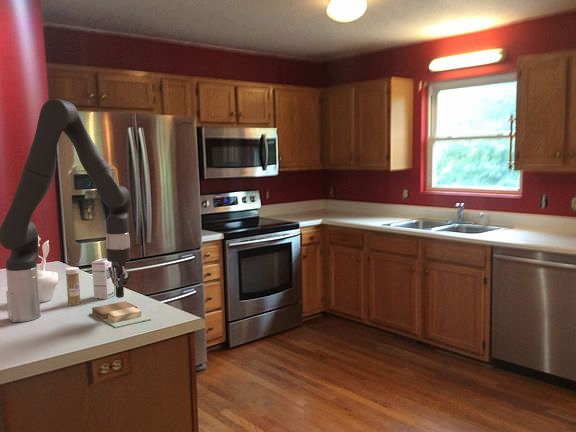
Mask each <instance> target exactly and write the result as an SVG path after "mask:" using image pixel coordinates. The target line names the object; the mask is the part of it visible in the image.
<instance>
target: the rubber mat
mask: <svg viewBox="0 0 576 432" xmlns="http://www.w3.org/2000/svg"><path fill="white" fill-rule="evenodd" d="M151 320H152V318H151V317H149V316H146V315H145V314H144V313H141V317H137V318H133V319H128V320H124V321H119V322H114V321H112V320H110V319H109V318H107V319H104V320H103V321H104V322H105V321H106V324H109V325H110V326H112V327H113V328H115V329H117V328H121V327H126V326H131V325H135V324H139V323H143V322H149V321H151Z"/></svg>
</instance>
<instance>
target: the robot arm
mask: <svg viewBox="0 0 576 432" xmlns="http://www.w3.org/2000/svg"><path fill="white" fill-rule="evenodd" d="M62 133H64V134H65V136H67V137H68V139H69V140H70V142H71V143H72V145H73V147H74V149H75V152H76V154H77V158H78V160H79V162H80V164H81V166H82V168H83V169H84V171H85V172H86V174H87V175H88V178H90V180H91V181H92V183H94V186H95V188H96V191H97V193H98V194H99V195H98V196H99V197H100V199H101V200H102V202H103V204H105V205H106V206H107V207H108V208H109V210H108V211H109V212H108V216H107V217H106V221H105V223H106V224H105V225H106V228H105V229H106V239H105V245H106V246H105V247H106V248H105V249H106V258H107V261H109V262H112V263H111V265H112V266H111V267H109V273H110V276H111V279H112V283H114V285H115V297H116V298H117V299H121V298H124V297H125V294H124V293H125V292H124V287H125V286H127V285H128V283H129V280H130V276H131V273H130V272H127V271H128V267H127V263H126V262H128V261H130V260H131V238H130V226H129V216H130V215H129V214H130V209H131V193H130V192H129V190H128V188H127V187H125V186H123V185H119V184H118V183H117V182H116V180H115V178H114V172H113V170H112V168H111V167H110V165H109V164H108V162H107V161H106V159H105V158H104V157H103V155H102V154H101V152H100V150H99V149H98V148H97V145H96V144H95V142H94V140H93V139H92V137H91V136H90V134H89V131H88V129H87V128H86V127H85V124H84V122H83V120H82V118H81V116H80V114H79V111H78V110H77V107H76V106H75V105H74V104H73V103H72V102H70V101H67V100H65V99H61V98H60V99H59V98H51V99H48V100H47V101H45V102H44V103H43V105H42V106H41V108H40V111H39V116H38V121H37V125H36V129H35V133H34V136H33V140H32V143H31V145H30V146H31V147H30V148H29V151H28V154H27V158H26V160H25V163H24V164H23V168H22V171H21V174H20V177H19V181H18V183H17V186H16V190H15V191H14V192H15V193H14V196H13V197H12V198H13V199H12V202H11V204H10V206H9V209H8V211H7V213H6V215H5V216H4V220H3V222H2V224H1V225H0V244H1V246H2V247H3V248H4V249H6V250H10V254H9V256H8V258H7V260H5V272H6V284H7V290H6V291H5V293H6V303H7V317H8V320H9V321H10V322H11V323H21V322H22V323H23V322H29V321H33V320H36V319H39V318H40V317H41V304H40V303H41V302H39V289H38V275H37V271H38V263H37V262H38V259H39V257H38V255H40V254H39V246H38V245H39V244H38V235H39V233H38V229H37V227H36V225H35V223H34V222H33V221H31V219H32V217H33V214H34V212H35V210H36V209H37V208H38V206H39V205H40V204H41V202H42V200H43V199H44V198H45V196H47V193H48V192H49V189H50V188H51V185H52V183H53V180H54V177H55V175H56V170H57V149H58V148H57V147H58V144H59V140H60V138H61V136H62Z"/></svg>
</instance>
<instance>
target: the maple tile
mask: <svg viewBox="0 0 576 432" xmlns="http://www.w3.org/2000/svg"><path fill="white" fill-rule="evenodd" d="M141 314H142V310H141V309H139V308H138V307H137V308H135V307H131V308H126V309H121V310H116V311H111V312H108V318H109V319H110V320H112V321H114V322H119V321H124V320H128V319H133V318H137V317H141Z"/></svg>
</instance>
